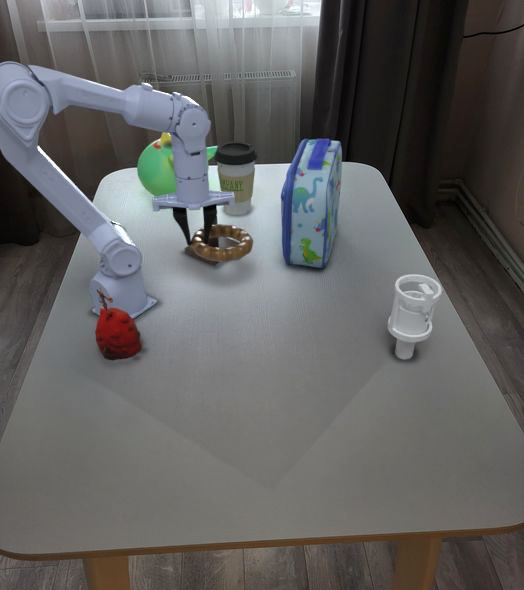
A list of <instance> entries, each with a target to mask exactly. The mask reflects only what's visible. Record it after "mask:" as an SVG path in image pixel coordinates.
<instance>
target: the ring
mask: <svg viewBox="0 0 524 590" xmlns="http://www.w3.org/2000/svg"><path fill="white" fill-rule="evenodd" d="M215 237H227V238H229V239H232V240H234V241H237V242H239V243H240V244H239V245H237V246H235V247H231V248H225V249H222V248H214V247H211V246H208V245H206V244H205V243H204V227H202V228H200V229H198V230H196V231H195V232H194V233H193V235H192V237H191V246H192V248H193V249H194V251H195V253H196V254H197V255H199V256H201V257H203V258H205V259H207V260H211V261H219V262H220V263H228V262H233V261H234V262H235V261H238V260H241V259H243V258H244V257H246V256H247V255H249V254H250V253H252V249H253V246H254V238H253V237H252V236H251V234H250V233H249V232H248V231H247V230H246V229H244V228H241V227H238V226H236V225H233V224H223V223H222V224H221V223H218V224H217V225H212V227H211V230H210V234H209V239H210V238H215Z"/></svg>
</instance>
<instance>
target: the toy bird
mask: <svg viewBox="0 0 524 590" xmlns="http://www.w3.org/2000/svg"><path fill="white" fill-rule="evenodd" d="M218 146H219V145H215V146H209V147H206V151H207V165H208V170H209V169H210V168H209V167H210V166H209V161H210V160H211V159H212V158H214V155H215V152H216V150H217V147H218ZM136 171H137V176H138V179H139V182H140V183H141V185H142V187H143V188H144V189H145V190H146V191H147V192H148V193H150V194H151V195H152V196H154V197H155V196H162V195H167V194H171V193H176V192H177V190H176V181H175V172H174V163H173V153H172V141H171V133H164V132H161V136H160V138H159V139H156V140H154V141H152V142H151V143H150V144H149V145H147V146H146V147H145V149H144V150H143V151H142V152H141V154H140V155H139V158H138V161H137V167H136Z"/></svg>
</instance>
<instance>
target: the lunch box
mask: <svg viewBox="0 0 524 590" xmlns="http://www.w3.org/2000/svg"><path fill="white" fill-rule="evenodd" d="M342 164H343V150H342V143H341V141H339V140H331V139H330V138H316V139H309V138H304V139H303V140H301V142H300V144H298V148H297V150H296V153H295V155H294V157H293V159H292V162H291V163H290V165H289V167H288V169H287V171H286V175H285V181H284V183H283V185H282V189H281V193H280V213H281V214H280V216H281V217H280V218H281V250H282V257H283V260H284V263H285V264H286V266H290V265H298V266H299V265H300V266H301V265H302V266H307V267H313V268H318V269H322V268H325V267H326V266H327V264H328V261H329V260H330V256H331V253H332V248H333V245H334V241H335V237H336V234H337V229H338V217H339V215H338V213H339V204H340V198H341V186H342V173H343V172H342V171H343V169H342V168H343V165H342Z"/></svg>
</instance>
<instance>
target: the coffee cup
mask: <svg viewBox="0 0 524 590" xmlns="http://www.w3.org/2000/svg"><path fill="white" fill-rule="evenodd" d="M217 146H218V147H217V150H216V152H215V155H214V156H213V158H214V160H215V161H216V165H217V168H216V169H217V175H218V181H219V187H220V188H219V189H220V191H221V192H234V196H235V206H234V207H229V205H223V208H224V212H225V213H226V214H228V215H231V216H243V215H247V214H248V213H249V212H250V211H251V205H252V197H253V193H254V182H255V172H256V167H255V166H256V160H257V159H258V154H257V151H256V150H255V146H254V145H253V144H251V143H250V142H245V141H238V140H237V141H236V140H233V141H227V142H222V143H220V144H219V145H217Z"/></svg>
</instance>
